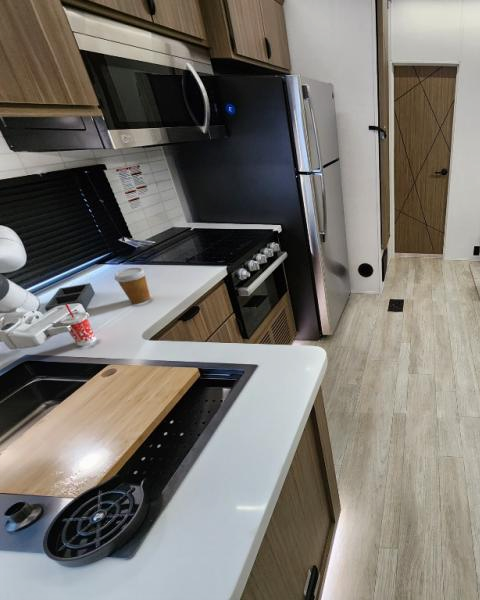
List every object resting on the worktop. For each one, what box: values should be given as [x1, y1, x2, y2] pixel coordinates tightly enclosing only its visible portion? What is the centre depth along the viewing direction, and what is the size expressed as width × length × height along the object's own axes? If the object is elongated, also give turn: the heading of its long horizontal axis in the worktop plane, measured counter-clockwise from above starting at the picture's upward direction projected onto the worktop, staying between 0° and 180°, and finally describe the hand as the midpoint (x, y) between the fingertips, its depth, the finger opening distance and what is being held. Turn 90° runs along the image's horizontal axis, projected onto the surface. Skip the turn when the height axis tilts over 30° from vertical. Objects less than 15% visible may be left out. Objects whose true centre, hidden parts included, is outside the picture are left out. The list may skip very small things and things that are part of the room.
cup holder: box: [44, 282, 96, 312], centre depth 127 cm, size 10×18×5 cm, turn 30°
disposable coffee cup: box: [114, 267, 151, 304], centre depth 128 cm, size 10×10×12 cm
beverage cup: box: [60, 303, 97, 347], centre depth 103 cm, size 6×6×14 cm
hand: (79, 321), depth 103 cm, fingers closed on beverage cup, 6 cm apart
